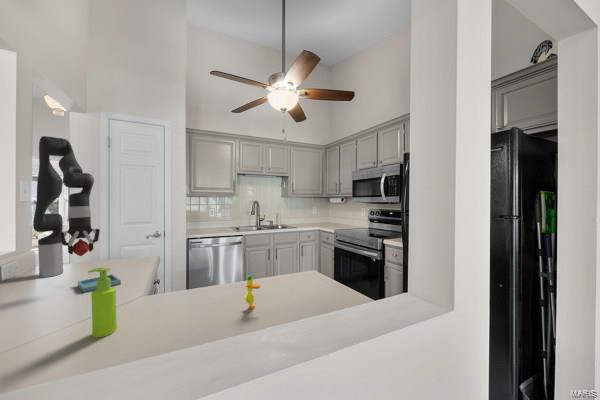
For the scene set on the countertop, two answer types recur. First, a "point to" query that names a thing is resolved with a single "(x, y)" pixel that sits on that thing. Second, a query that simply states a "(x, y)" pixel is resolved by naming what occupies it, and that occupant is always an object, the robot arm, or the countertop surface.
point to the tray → (92, 283)
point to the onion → (80, 247)
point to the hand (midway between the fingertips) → (81, 252)
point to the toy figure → (250, 291)
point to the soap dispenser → (103, 305)
